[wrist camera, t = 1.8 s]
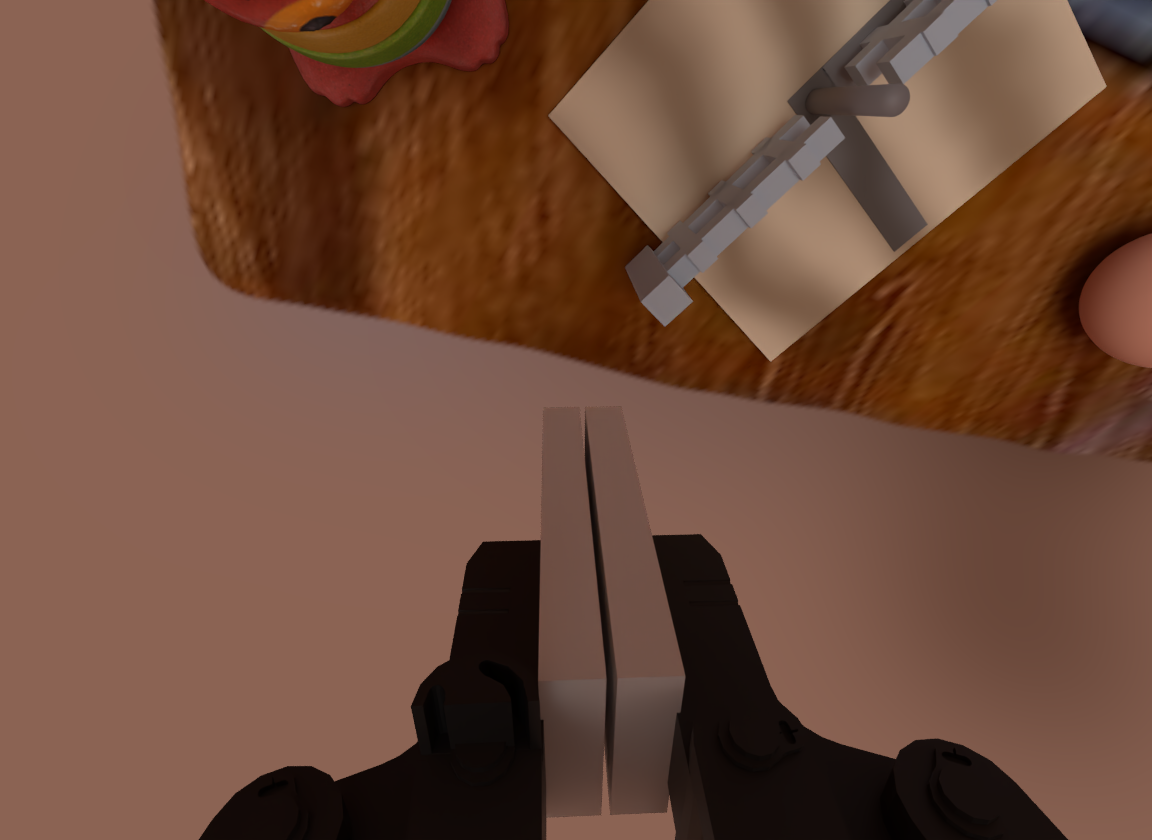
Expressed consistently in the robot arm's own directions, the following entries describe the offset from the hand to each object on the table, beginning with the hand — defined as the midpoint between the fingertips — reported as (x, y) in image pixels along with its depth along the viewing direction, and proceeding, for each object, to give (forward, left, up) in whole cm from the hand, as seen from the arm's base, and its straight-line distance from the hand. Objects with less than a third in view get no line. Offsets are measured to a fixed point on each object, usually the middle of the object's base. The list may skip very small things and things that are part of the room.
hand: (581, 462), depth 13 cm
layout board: (-15, +5, -24) cm, 29 cm away
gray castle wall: (-7, +5, -23) cm, 25 cm away
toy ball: (-23, +27, -25) cm, 43 cm away
